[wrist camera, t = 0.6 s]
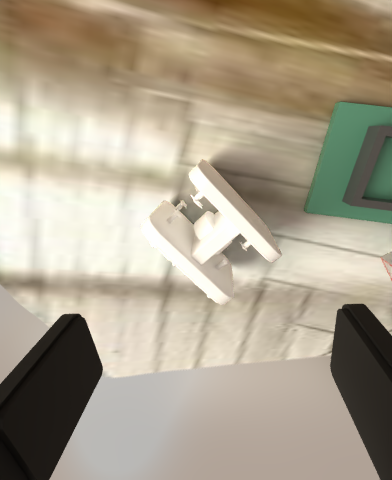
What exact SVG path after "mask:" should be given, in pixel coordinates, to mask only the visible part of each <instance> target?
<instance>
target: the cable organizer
mask: <svg viewBox="0 0 392 480" xmlns="http://www.w3.org/2000/svg"><path fill="white" fill-rule="evenodd" d="M189 177H190V179H191V181H192V182H193V184H194V185H195V186H196V187H197V188H196V187H195V186H194V187H195V188H196V191H197V192H199V193H198V194H197V195H196V196H195V197H193V196H192V195H191V194H190V195H191V197H192V199H193V201H194V203H195V204H197V205H198V206H199V207H200V208H202V207H201V205H202V204H201V203H200V202H199V200H200V199H201V198H202V197H203V196H205V197H206V198H207V199H208V200H209V201H210V202H211V203H212V204H213V205H214V206H215V207H216V208H217V209H218V210H219V211H217V212H216V213H215V214H213V213H212V212H210V211H207V212H206V213H205V214H204V215H202V216H201V217H200V218H199V219H198V220H197V221H196V222H195V223H194V225H193V224H192V223H191V222H190V221H189V220H188V219H187V218H186V217H185V216H184V215H183V214H182V213H181V212H180V211H179V210H180V209H181V208H182V207H183V206H185V207H186V206H188V205H186V204H185V202H184V200H183V201H181V200H180V199H179V200H180V201H181V203H179V204H178V205H177V206H176V207H175V206H174V205H172V204H171V203H169V202H168V201H163V202H162V203H161V204H160V205H159V206H158V207H157V208H156V209H155V210H154V211H153V212H152V213H151V215H150V216H149V217H148V218H147V219H146V220H145V221H144V222H143V223H142V224H141V229H142V232H143V234H144V235H145V237H146V238H147V239H148V240H149V241H150V243H149V244H150V245H151V246H152V247H153V248H154V247H156V249H158V250H159V251H160V252H161V253H162V254H164V256H165V257H166V258H167V261H168V260H170V261H171V262H172V265H173V266H174V267H175V266H177V268H178V269H180V270H181V271H182V272H183V273H184V274H185V276H188V278H190V279H191V280H192V281H193V282H194V283H195V285H198V287H199V288H201V289H202V290H203V291H204V292H205V293H206V294H207V297H208V298H211V299H213V300H214V301H215V302H216V303H219V304H222V305H224V304H226V303H227V302H228V301H230V300H231V299H233V298H234V286H233V274H232V266H231V263H230V262H229V260H228V259H227V258H226V256H225V255H224V254H223V253H222V251H223V250H224V249H225V248H227V249H228V247H227V246H229V245H230V244H231V243H232V240H233V239H234V238H235V237H236V236H238V235H239V234H241V235H242V236H243V237H245V238H246V239H247V241H246V242H245V243H244V244H243V243H242V241H241V243H240V242H239V243H240V244H241V246H242V248H243V249H245V250H246V248H248V247H249V246H250V245H252V246H253V247H254V248H255V249H256V250H257V251H258V252H259V253H260V254H261V255H262V256H263V257H264V258H265V259H267V260H268V261H269V262H271V263H273V262H274V261H275V260H277V259H278V258H280V257H281V256H282V254H281V251H280V250H279V248H278V246H277V244H276V242H275V240H274V238H273V236H272V234H271V232H270V230H269V229H268V227H267V226H266V224H265V223H264V222H263V221H262V219H261V218H260V217H259V216H258V215H257V214H256V213H255V212H254V211H253V210H252V209H251V208H250V206H249V205H248V204H247V203H246V202H245V201H244V200H243V199H242V198H241V197H240V196H239V195H238V193H237V192H236V191H235V190H234V189H233V188H232V187H231V186H230V185H229V184H228V183H227V182H226V181H225V179H224V178H223V177H222V176H221V175H220V174H219V173H218V172H217V171H216V170H215V169H214V168H213V167H212V166H211V165H210V164H209V163H208V162H207V161H205V160H204V159H202V160H201V161H200V162H199V163H198V164H197V165H196V166H195V167H194V168H193V169H192V171H191V172H190V173H189ZM202 206H203V205H202ZM186 209H187V208H186ZM246 251H247V250H246Z"/></svg>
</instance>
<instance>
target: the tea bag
mask: <svg viewBox="0 0 392 480" xmlns="http://www.w3.org/2000/svg"><path fill="white" fill-rule="evenodd" d="M381 259H382V261H383V263H384V265H385V267H386V270H387V272H388V274H389V276H390V278H391V280H392V252H390V253H387V254H385V255H383V256H381Z"/></svg>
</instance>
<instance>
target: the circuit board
mask: <svg viewBox="0 0 392 480" xmlns="http://www.w3.org/2000/svg"><path fill="white" fill-rule="evenodd" d="M304 211H305V212H306V213H313V214H321V215H328V216H336V217H344V218H351V219H359V220H366V221H374V222H382V223H389V224H392V107H383V106H374V105H365V104H356V103H347V102H338V103H336V104H335V107H334V110H333V114H332V117H331V120H330V124H329V127H328V131H327V134H326V137H325V141H324V144H323V147H322V151H321V154H320V157H319V161H318V164H317V168H316V171H315V174H314V178H313V181H312V184H311V188H310V191H309V195H308V198H307V201H306V205H305V208H304Z"/></svg>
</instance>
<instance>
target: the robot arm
mask: <svg viewBox="0 0 392 480" xmlns="http://www.w3.org/2000/svg"><path fill="white" fill-rule="evenodd" d="M330 367H331V372H332V376H333V378H334V380H335V383H336V385H337V387H338V389H339V391H340V393H341V395H342V397H343V400H344V402H345V404H346V406H347V408H348V410H349V413H350V414H351V417H352V419H353V421H354V423H355V426H356V428H357V430H358V432H359V434H360V436H361V438H362V440H363V443H364V445H365V447H366V449H367V451H368V454H369V456H370V458H371V460H372V462H373V464H374V466H375V469H376V471H377V473H378V475H379V477H380V479H381V480H392V336H391V334H390V333H389V332H388V331H387V330H386V329H385V327H384V326H383V325H382V324H381V323H380V321H379V320H378V319H377V318H376V317H375V316H374V314H373V313H372V312H371V311H370V310H369V309H368V307H367V306H366V305H364V304H345V305H343V307H342V309H338V311H337V317H336V325H335V333H334V340H333V348H332V356H331V364H330ZM102 371H103V367H102V363H101V361H100V358H99V355H98V353H97V350H96V347H95V344H94V342H93V339H92V336H91V334H90V331H89V328H88V326H87V323H86V320H85V318H83V317H82V316H81V315H80V314H64V315H62V316H61V317H60V318H59V319H58V320H57V321H56V322H55V323H54V324H53V326H52V327H51V328H50V329H49V330H48V331H47V332H46V334H45V335H44V336H43V337H42V338H41V339H40V340H39V341H38V342H37V344H36V345H35V346H34V347H33V348H32V349H31V350H30V351H29V353H28V354H27V355H26V356H25V357H24V358H23V359H22V360H21V361H20V363H19V364H18V365H17V366H16V367H15V368H14V369H13V371H12V372H11V373H10V374H9V375H8V376H7V377H6V378H5V379H4V381H3V382H2V383H1V384H0V480H49V479H50V477H51V475H52V473H53V471H54V469H55V467H56V465H57V463H58V461H59V459H60V457H61V455H62V453H63V451H64V449H65V447H66V445H67V443H68V441H69V439H70V437H71V435H72V433H73V431H74V429H75V427H76V425H77V423H78V421H79V419H80V417H81V415H82V413H83V411H84V409H85V407H86V405H87V403H88V401H89V399H90V397H91V395H92V393H93V391H94V389H95V387H96V385H97V383H98V381H99V379H100V377H101V375H102Z"/></svg>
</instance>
